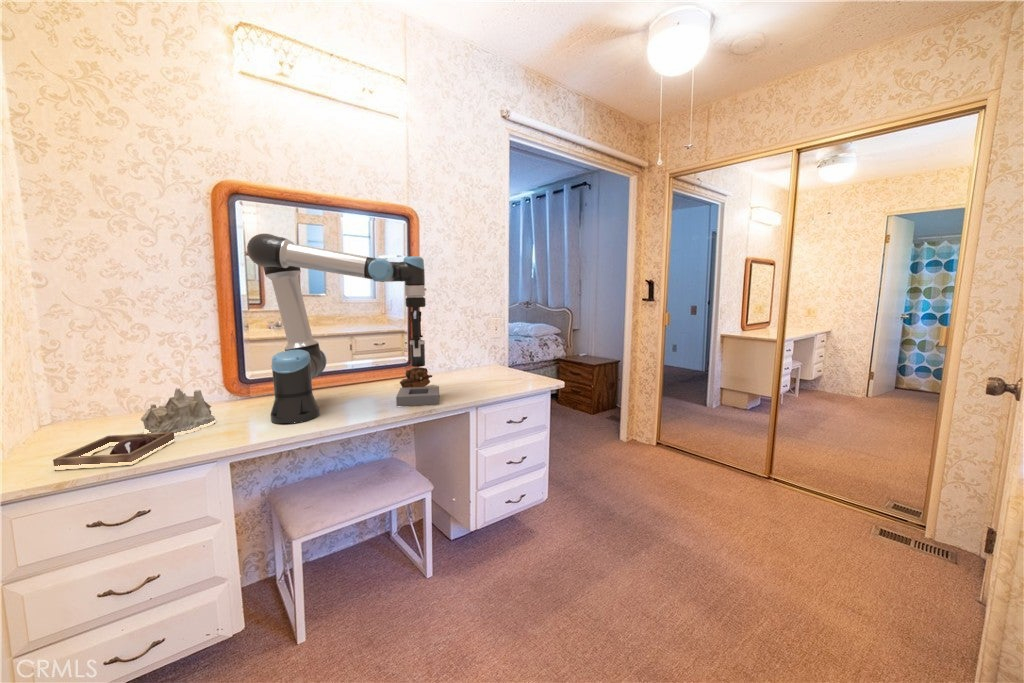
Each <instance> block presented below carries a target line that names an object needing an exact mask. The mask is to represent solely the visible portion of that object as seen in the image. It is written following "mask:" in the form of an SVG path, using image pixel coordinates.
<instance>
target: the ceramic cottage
mask: <svg viewBox="0 0 1024 683" xmlns="http://www.w3.org/2000/svg"><path fill="white" fill-rule="evenodd" d="M211 407H212V405H210V404H208V402H206V400H205V398H204V395H203V393H202V390H201V389H195V390H193V395H187V394H186V393H185V392H184V391H183V390H181V388H179V387H178V388H175V390H174V395H173V396H172V397H171V396H170V397H169V398H168V400H167V402H166V404H165V405H159V406H158V407H157V405H156V404H154V403H153V404H152V403H151V404H150V408H148V409H147V410H146V411H145V412H144V414H143V415H142V416H141V418H140V420H141V421H142V423H143V426H144V429H147V430H149V432H151V433H165V432H174V433H177V432H181V431H187V430H191V429H193V428H196V427H199V426H200V425H204V424H208V423H210V422H212V421H214V420H216V418H215V416H214V415H212V410H211Z"/></svg>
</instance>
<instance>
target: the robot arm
mask: <svg viewBox="0 0 1024 683" xmlns="http://www.w3.org/2000/svg"><path fill="white" fill-rule="evenodd" d="M246 252H247V254H248V257H249V259H250V261H252V262H253V263H255V264H256V265H257V266H259V267H262V268H263V272H264V276H265V277H266V278H268V279H269V280H271V283H272V286H273V287H272V288H273V291H274V295H275V299H276V303H277V306H278V310H279V314H280V319H281V322H282V326H283V329H284V333H285V337H286V342H287V345H286V346H285V347H284V351H280V352H277V353H275V354H274V355H273V356H272V357H271V371H272V381H273V382H272V383H273V390H274V401H273V405H272V408H271V412H270V422H271V421H272V422H271V423H273V422H275V423H274V424H276V423H293V424H295V423H294V422H299V423H302V422H301V421H304V422H307V421H306V420H308V421H310V419H311V420H313V419H315V417H316V418H317V417H319V415H320V407H319V405H318V402H317V400H316V399H315V396H314V394H313V382H312V380H313V379H315V378H317V377H319V376H320V375H321V374H322V373H323V371H325V368H326V366H327V357H326V354H325V353H324V352H323V351H322V350H321V348H320V345H319V341H318V340H315V339H314V337H313V334H312V330H311V326H310V322H309V318H308V313H307V310H306V306H305V302H304V298H303V293H302V290H301V285H300V281H299V278H298V277H299V276H300V274H301V272H302V271H301V269H307V270H313V271H314V270H315V271H319V272H325V273H331V274H339V275H345V276H350V277H357V278H362V279H368V280H373V281H374V282H380V283H384V282H386V283H387V282H388V283H389V282H391V283H392V282H393V283H394V282H401V283H402V282H404V293H405V294H404V295H405V297H406V298H405V307H407V308H412V311H410V319H411V321H410V322H411V329H412V330H411V331H412V333H411V334H412V335H411V336H412V337H411V338H410V341H411V340H413V357H419V356H421V352H420V340H422V338H423V336H424V335H423V334H422V327H421V326H422V324H421V322H422V311H420V308H424V307H426V305H427V304H426V297H425V296H426V291H427V288H426V286H425V285H426V283H425V282H426V281H425V278H426V277H425V273H426V272H425V260H424V258H423V257H421V256H412V255H411V256H405V257H403V258H404V259H403V261H389V260H387V259H385V258H379V257H378V258H377V257H372V256H371V257H369V256H366V255H365V256H364V255H360V254H359V255H358V254H353V253H348V252H343V251H337V250H331V249H325V248H320V247H316V246H315V247H314V246H309V245H302V244H297V243H294V242H293V241H291V240H290V239H288V238H285V237H283V236H282V237H281V236H278V235H273V234H271V233H258V234H256V235H253V236H252V237H251V238H250V239H249V240H248V243H247V247H246ZM312 418H313V419H312Z"/></svg>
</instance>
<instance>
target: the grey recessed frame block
mask: <svg viewBox="0 0 1024 683" xmlns="http://www.w3.org/2000/svg"><path fill="white" fill-rule="evenodd" d="M395 396H396V397H395V398H396V407H397V406H409V407H419V406H418V405H428V406H438V405H437V404H439V405H440V386H439V385H438V386H437V385H436V386H433V385H432V386H431V385H430V386H425V387H408V388H402V387H400V388H399V390H398V392H397V394H396V395H395Z"/></svg>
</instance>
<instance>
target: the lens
mask: <svg viewBox="0 0 1024 683" xmlns="http://www.w3.org/2000/svg"><path fill="white" fill-rule="evenodd" d="M425 344H426V341H425V340H424V339H421V340H420V352H421V356H419V357H413V340H411V339H410V341H409V345H410V367H411V368H414V367H421V368H423V367H425V366H426V353H425V352H426V350H425V348H426V347H425Z"/></svg>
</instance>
